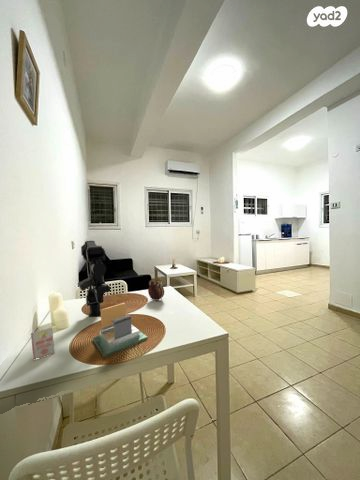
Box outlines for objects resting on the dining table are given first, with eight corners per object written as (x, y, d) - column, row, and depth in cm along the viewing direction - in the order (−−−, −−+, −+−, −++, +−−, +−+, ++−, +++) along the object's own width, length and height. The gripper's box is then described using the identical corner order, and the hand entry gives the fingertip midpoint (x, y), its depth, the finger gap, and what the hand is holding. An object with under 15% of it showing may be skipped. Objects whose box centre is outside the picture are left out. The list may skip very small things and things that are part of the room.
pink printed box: (33, 356, 77) (31, 331, 76) (54, 349, 81) (51, 325, 80) (33, 360, 74) (30, 335, 73) (54, 353, 78) (52, 328, 77)
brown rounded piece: (165, 300, 129) (164, 277, 128) (160, 302, 125) (159, 279, 124) (152, 297, 135) (151, 276, 134) (147, 300, 131) (146, 278, 130)
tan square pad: (102, 329, 86) (100, 309, 85) (125, 321, 93) (124, 302, 92) (102, 330, 85) (101, 310, 84) (126, 322, 92) (125, 303, 91)
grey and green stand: (92, 340, 86) (90, 316, 85) (131, 325, 97) (129, 304, 96) (104, 358, 73) (102, 329, 73) (147, 339, 84) (145, 314, 84)
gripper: (74, 272, 98) (77, 302, 99) (83, 278, 84) (86, 313, 85) (97, 268, 105) (99, 296, 106) (109, 273, 91) (112, 306, 92)
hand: (99, 303), depth 97 cm, fingers closed
